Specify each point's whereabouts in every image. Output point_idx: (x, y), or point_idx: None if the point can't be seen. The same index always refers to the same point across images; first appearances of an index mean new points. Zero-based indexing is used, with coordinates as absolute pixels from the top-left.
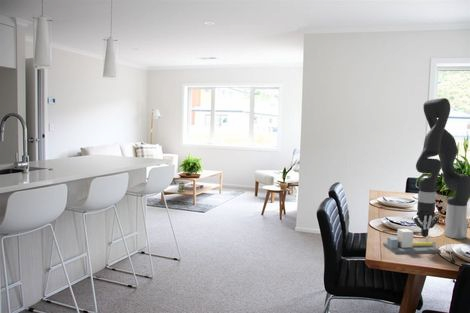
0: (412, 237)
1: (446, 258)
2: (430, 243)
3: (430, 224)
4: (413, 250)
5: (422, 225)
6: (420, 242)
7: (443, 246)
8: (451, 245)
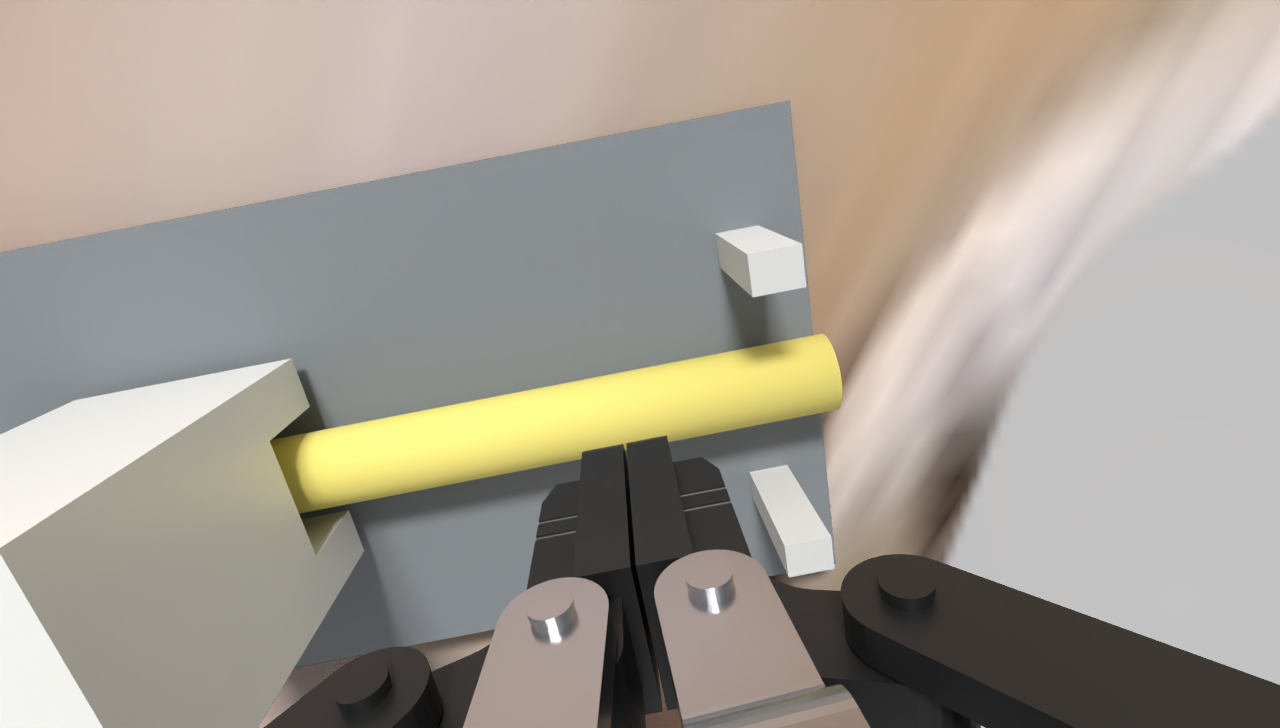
0: (258, 705)
1: None
2: (753, 424)
3: (991, 668)
4: (362, 644)
5: (557, 707)
6: (545, 445)
7: (1061, 181)
8: (1258, 94)
